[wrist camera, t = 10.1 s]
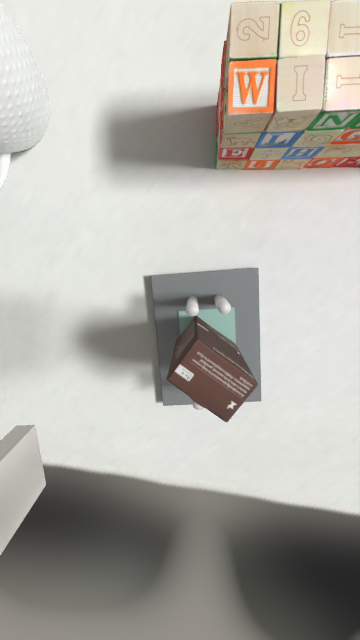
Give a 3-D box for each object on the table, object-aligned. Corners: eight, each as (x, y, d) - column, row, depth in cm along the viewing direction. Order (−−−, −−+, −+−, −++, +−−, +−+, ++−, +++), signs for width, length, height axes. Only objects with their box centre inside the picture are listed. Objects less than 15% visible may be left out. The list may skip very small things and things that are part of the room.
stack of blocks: (429, 99, 28) (602, -19, 16) (419, 167, 30) (572, 104, 18) (215, 105, 29) (229, -3, 17) (213, 171, 31) (226, 112, 19)
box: (237, 341, 33) (262, 385, 21) (214, 370, 34) (224, 428, 22) (196, 310, 33) (197, 338, 21) (173, 341, 33) (161, 384, 22)
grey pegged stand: (164, 401, 36) (157, 434, 29) (152, 275, 33) (141, 279, 26) (259, 397, 36) (274, 429, 29) (256, 267, 32) (273, 269, 26)
